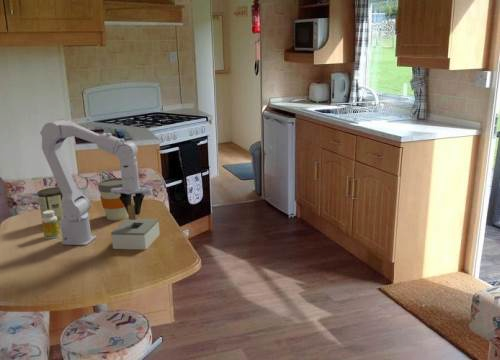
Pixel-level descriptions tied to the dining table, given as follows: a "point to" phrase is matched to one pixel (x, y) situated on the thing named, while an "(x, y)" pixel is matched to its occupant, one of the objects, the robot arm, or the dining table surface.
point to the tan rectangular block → (132, 212)
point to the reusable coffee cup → (112, 199)
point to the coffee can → (51, 202)
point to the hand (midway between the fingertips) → (134, 213)
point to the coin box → (135, 234)
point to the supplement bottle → (50, 225)
